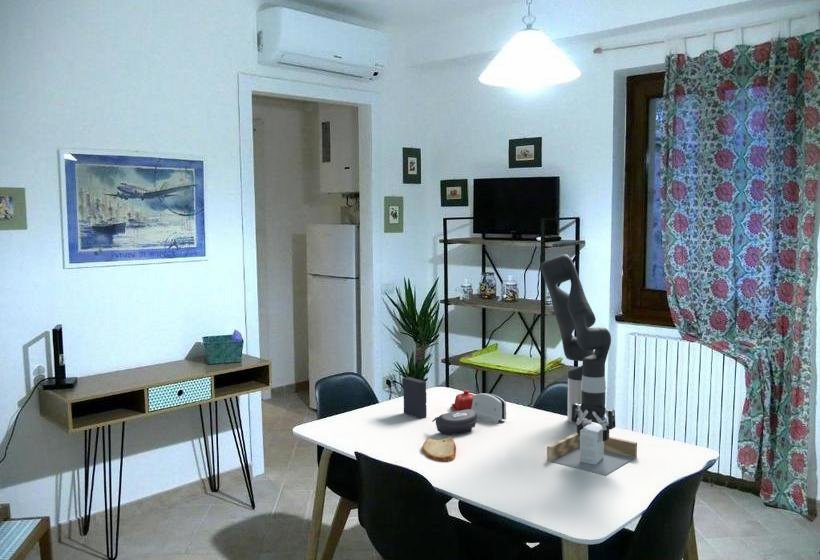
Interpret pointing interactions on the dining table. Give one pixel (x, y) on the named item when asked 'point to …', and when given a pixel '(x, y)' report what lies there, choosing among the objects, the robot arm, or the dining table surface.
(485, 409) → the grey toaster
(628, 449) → the corner walls
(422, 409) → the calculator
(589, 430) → the small box
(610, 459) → the mat
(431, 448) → the slice of bread
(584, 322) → the robot arm
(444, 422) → the glasses case
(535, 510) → the dining table surface
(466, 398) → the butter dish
